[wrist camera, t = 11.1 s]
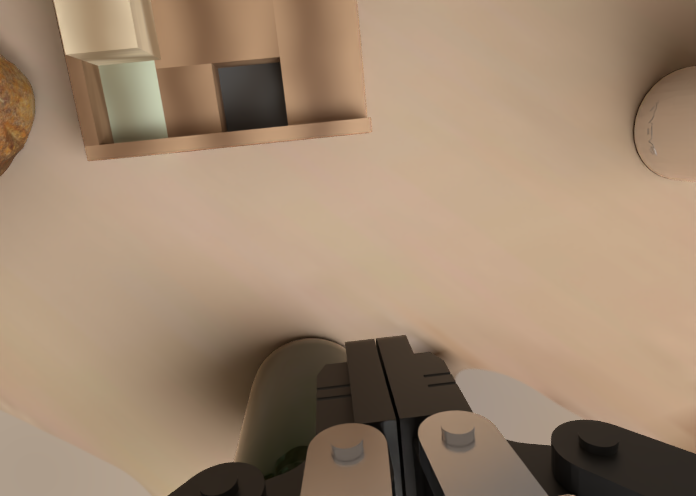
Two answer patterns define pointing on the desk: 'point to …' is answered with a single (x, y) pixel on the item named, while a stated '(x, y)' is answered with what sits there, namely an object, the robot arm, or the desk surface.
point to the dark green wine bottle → (284, 406)
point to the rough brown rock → (14, 112)
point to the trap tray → (227, 79)
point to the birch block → (108, 30)
